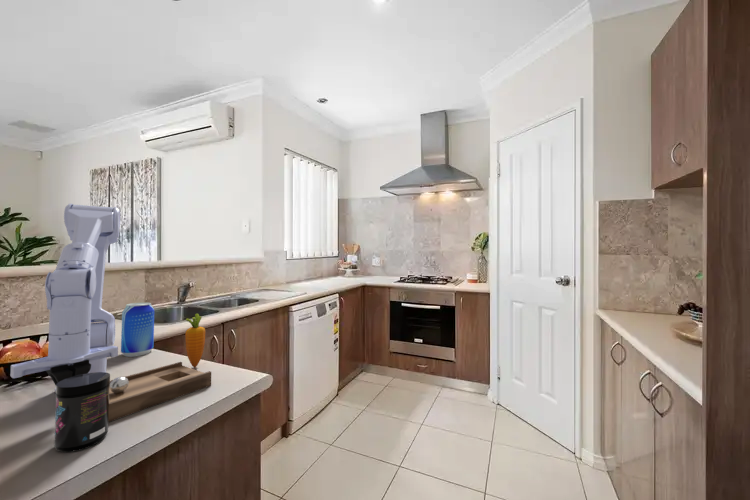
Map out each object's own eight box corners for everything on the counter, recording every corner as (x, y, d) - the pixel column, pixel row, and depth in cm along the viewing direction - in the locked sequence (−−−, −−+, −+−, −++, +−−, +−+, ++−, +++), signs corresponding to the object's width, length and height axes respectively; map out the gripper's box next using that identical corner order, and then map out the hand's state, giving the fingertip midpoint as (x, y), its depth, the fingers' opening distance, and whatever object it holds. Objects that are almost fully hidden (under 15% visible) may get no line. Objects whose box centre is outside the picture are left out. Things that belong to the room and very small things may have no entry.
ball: (106, 393, 66) (106, 378, 66) (124, 388, 68) (125, 373, 68) (113, 397, 64) (113, 381, 64) (131, 391, 67) (131, 376, 67)
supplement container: (83, 430, 56) (85, 371, 57) (118, 431, 56) (120, 372, 56) (41, 453, 50) (43, 386, 50) (81, 455, 49) (83, 388, 49)
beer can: (147, 348, 107) (148, 301, 108) (157, 352, 102) (158, 303, 103) (117, 354, 100) (118, 304, 101) (126, 359, 96) (127, 306, 96)
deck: (75, 405, 65) (75, 389, 65) (180, 374, 83) (180, 361, 83) (102, 424, 58) (102, 406, 58) (211, 385, 76) (211, 371, 76)
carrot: (195, 371, 86) (196, 316, 86) (180, 369, 87) (181, 315, 87) (208, 365, 91) (209, 313, 91) (194, 363, 92) (195, 312, 92)
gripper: (19, 343, 51) (16, 427, 51) (125, 327, 64) (123, 394, 63) (8, 337, 55) (5, 416, 55) (110, 323, 67) (108, 387, 67)
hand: (67, 404), depth 59 cm, fingers closed
